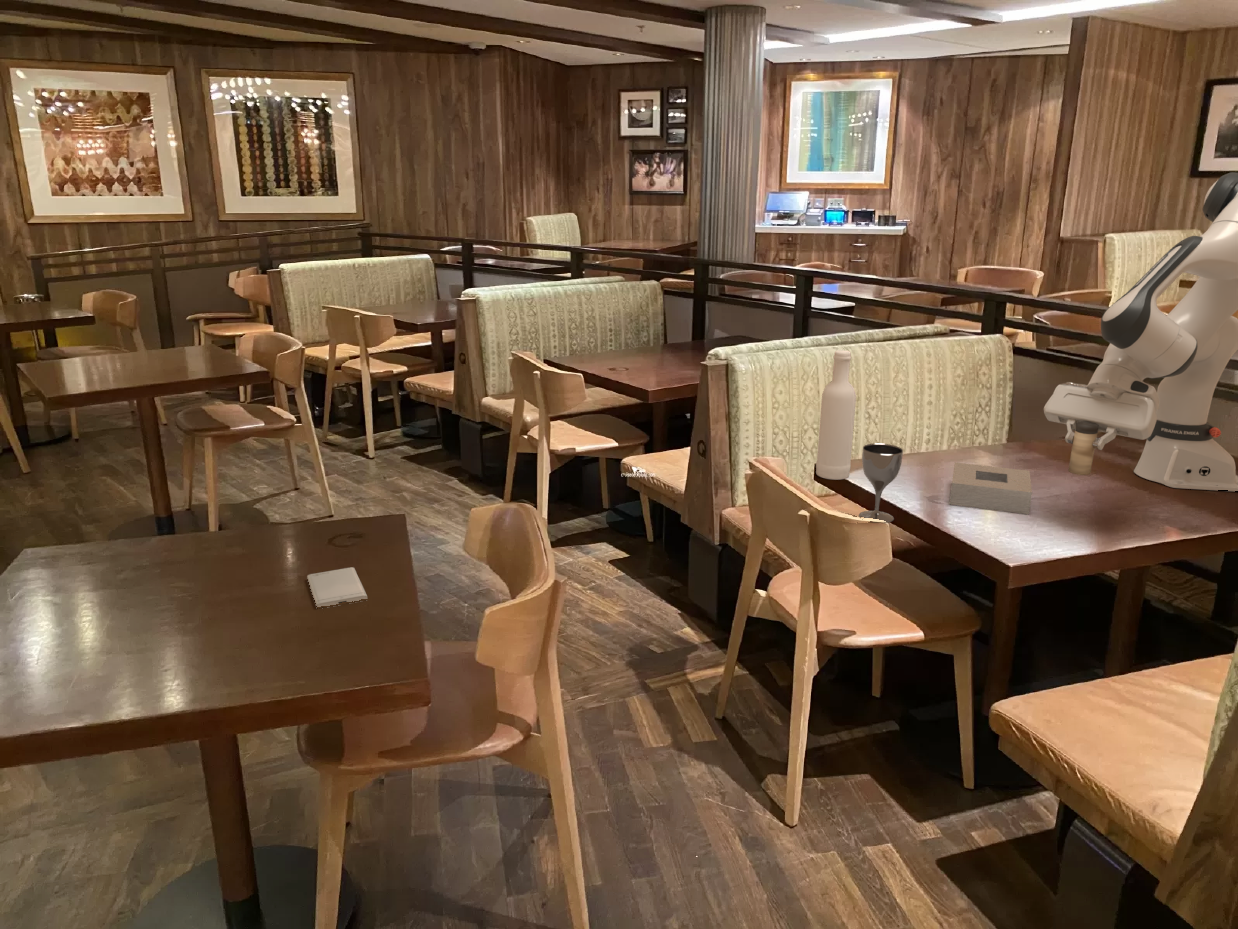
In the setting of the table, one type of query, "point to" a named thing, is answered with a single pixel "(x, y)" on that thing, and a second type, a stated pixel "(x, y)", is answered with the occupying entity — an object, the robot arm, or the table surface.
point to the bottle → (836, 422)
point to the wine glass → (880, 472)
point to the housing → (991, 488)
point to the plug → (1083, 448)
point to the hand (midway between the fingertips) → (1082, 444)
